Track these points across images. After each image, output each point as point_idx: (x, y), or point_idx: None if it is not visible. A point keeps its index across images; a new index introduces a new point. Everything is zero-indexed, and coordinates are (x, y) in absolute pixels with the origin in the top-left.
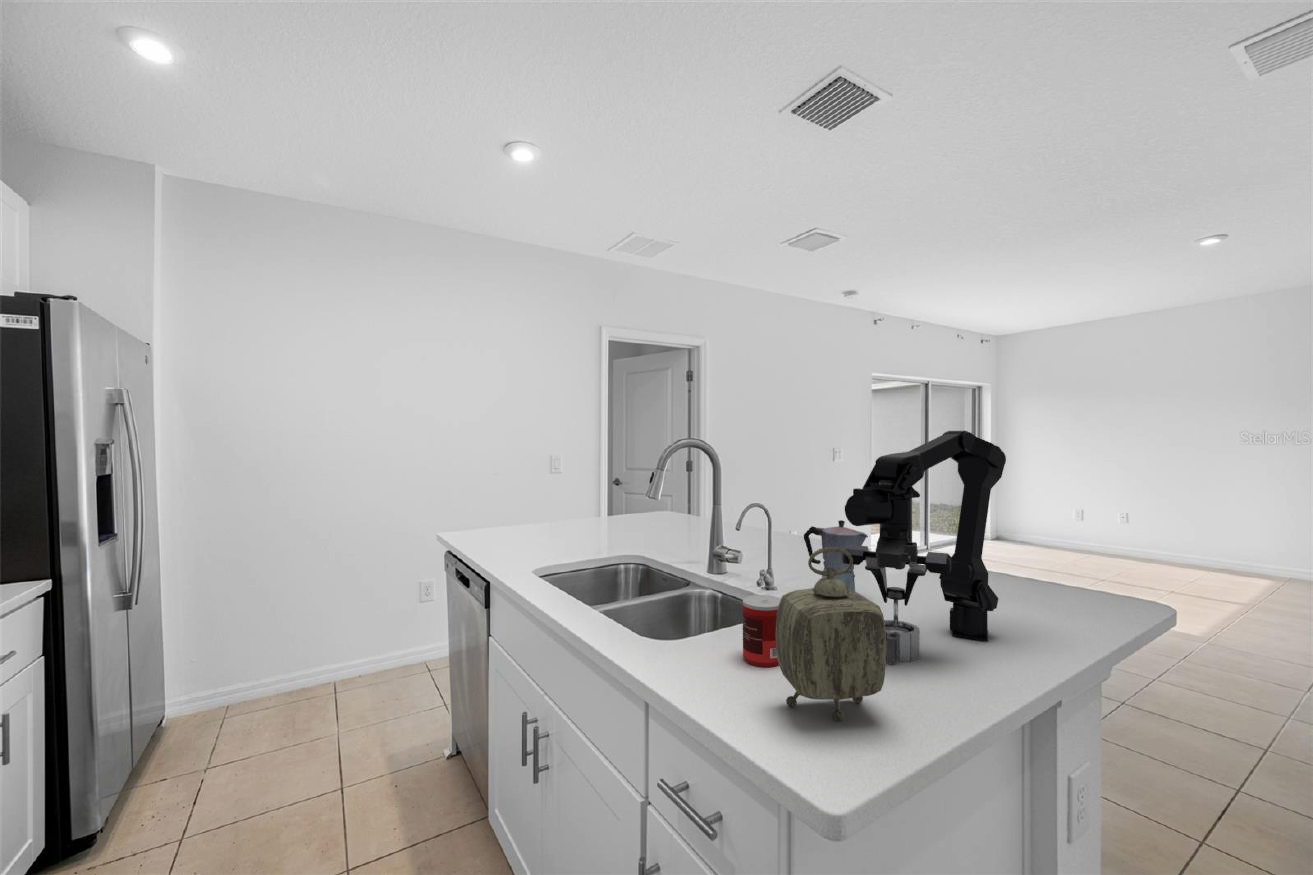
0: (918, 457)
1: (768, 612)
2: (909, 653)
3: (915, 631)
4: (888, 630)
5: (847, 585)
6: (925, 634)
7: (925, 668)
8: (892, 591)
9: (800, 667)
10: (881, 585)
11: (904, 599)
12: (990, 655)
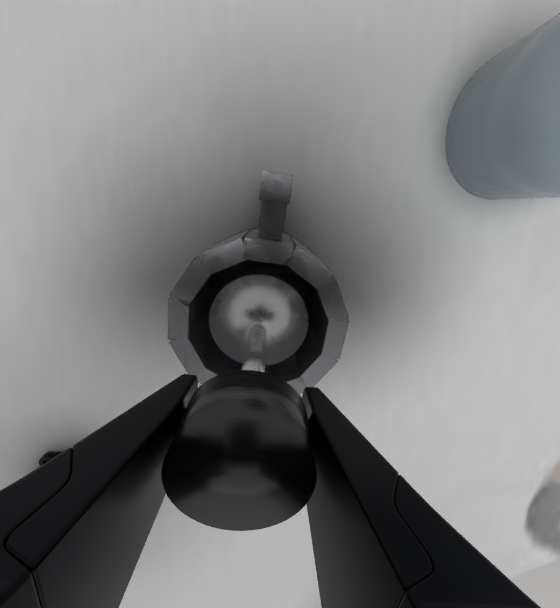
0: None
1: None
2: (217, 243)
3: (180, 300)
4: (285, 317)
5: None
6: None
7: (173, 198)
8: (267, 420)
9: None
10: (377, 480)
11: (184, 394)
12: (22, 368)
